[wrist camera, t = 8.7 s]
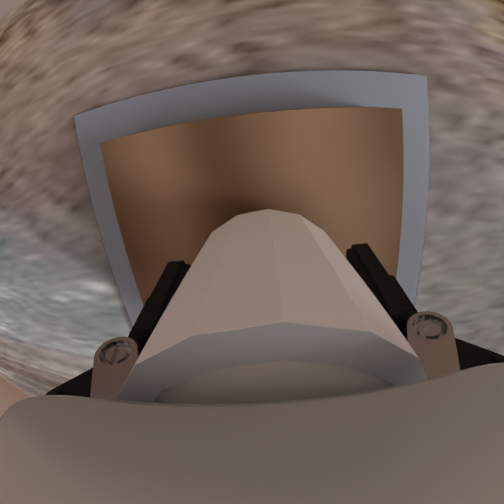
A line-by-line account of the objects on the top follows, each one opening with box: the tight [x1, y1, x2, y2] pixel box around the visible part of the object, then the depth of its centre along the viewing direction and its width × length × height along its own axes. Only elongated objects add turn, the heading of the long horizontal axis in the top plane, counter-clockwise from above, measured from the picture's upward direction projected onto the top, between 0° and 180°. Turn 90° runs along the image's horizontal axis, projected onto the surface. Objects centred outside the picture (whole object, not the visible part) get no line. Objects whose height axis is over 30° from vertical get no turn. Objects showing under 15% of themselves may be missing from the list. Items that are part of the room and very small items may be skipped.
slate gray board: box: [74, 70, 430, 326], centre depth 18 cm, size 20×16×1 cm
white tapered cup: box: [116, 209, 427, 404], centre depth 9 cm, size 7×7×7 cm
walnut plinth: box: [100, 107, 404, 305], centre depth 15 cm, size 12×12×5 cm
